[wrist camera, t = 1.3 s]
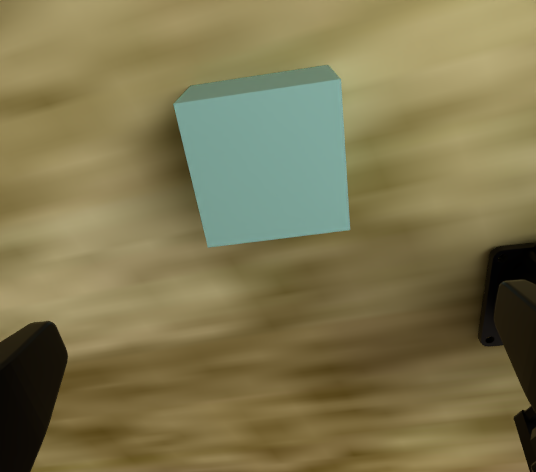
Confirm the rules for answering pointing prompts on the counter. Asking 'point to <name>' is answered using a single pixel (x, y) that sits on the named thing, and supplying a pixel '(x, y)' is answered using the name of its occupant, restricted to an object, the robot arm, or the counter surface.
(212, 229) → the teal block
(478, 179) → the counter surface
